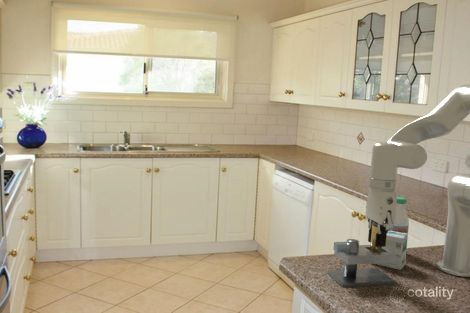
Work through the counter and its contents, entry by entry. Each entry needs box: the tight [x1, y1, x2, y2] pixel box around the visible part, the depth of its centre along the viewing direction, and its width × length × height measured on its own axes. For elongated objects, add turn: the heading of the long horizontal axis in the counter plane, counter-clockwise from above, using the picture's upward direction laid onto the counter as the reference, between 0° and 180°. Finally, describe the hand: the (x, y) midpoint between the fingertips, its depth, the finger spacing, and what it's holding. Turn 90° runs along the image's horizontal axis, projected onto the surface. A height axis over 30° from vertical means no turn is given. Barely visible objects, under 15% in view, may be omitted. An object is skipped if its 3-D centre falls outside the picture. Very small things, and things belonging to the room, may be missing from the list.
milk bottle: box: [389, 196, 410, 240], centre depth 171 cm, size 8×8×20 cm
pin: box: [369, 221, 384, 253], centre depth 146 cm, size 3×3×10 cm
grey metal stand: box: [327, 238, 396, 288], centre depth 145 cm, size 18×10×12 cm, turn 104°
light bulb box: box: [371, 231, 409, 271], centre depth 160 cm, size 11×7×11 cm, turn 59°
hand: (376, 243), depth 146 cm, fingers closed on pin, 3 cm apart
